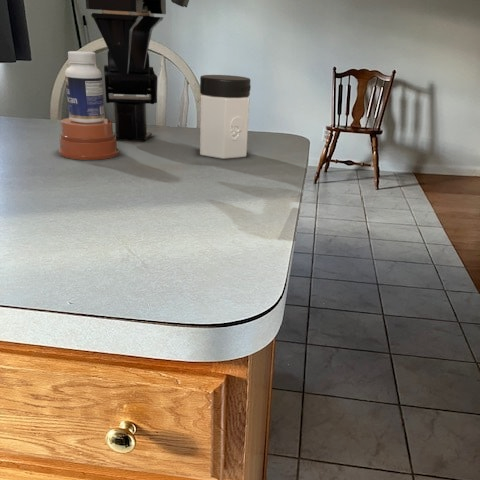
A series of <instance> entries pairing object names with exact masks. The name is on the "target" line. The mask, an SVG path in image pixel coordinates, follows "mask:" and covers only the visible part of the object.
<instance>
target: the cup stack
mask: <svg viewBox="0 0 480 480" xmlns="http://www.w3.org/2000/svg"><path fill="white" fill-rule="evenodd" d="M60 127H61V132H60V136H59V138H58V139H59V140H58V141H59V148H58V155H59V156H60V157H63V158H66V159H71V160H80V161H99V160H108V159H113V158H116V157H118V156H119V154H120V150H119V148H118V145H117V139H116V137H115V134H114V133H115V132H114V131H113V121H112V120H111V119H109V118H104V121H102V122H99V123H78V122H73V121H71V120H70V118H69V117H67V118H63V119H61V120H60Z"/></svg>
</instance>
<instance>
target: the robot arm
mask: <svg viewBox="0 0 480 480" xmlns="http://www.w3.org/2000/svg"><path fill="white" fill-rule="evenodd" d="M170 1H171V3H173V4H175V5H177V6H179V7H181V8H188V5H189V2H190V0H170ZM85 9H86V10H94V11H95V10H97V11H101V13H97V12H90V16H91V18H92V19H93V20H94V23H95V24H96V26H97V28H98V30H99V33H100V34H101V36H102V39H103V40H104V43H105V45H106V47H107V49H108V50H107V64H104V65H103V75H104V87H105V88H104V91H105V103H106V104H110V103H113V111H114V112H113V113H114V114H113V115H114V129H115V131H114V132H113V133H114V134H115V137H116V140H123V141H139V142H146V141H147V140H148V139H149V138H150V137H152V136H153V132H150V131H148V128H147V127H148V126H147V125H148V124H147V104H149V105H154V104H157V103H158V75H157V74H156V73H155V70H154V67H153V66H150V54H149V46H150V42H151V37H152V33H153V30H154V28H156V27H157V25H158V24H160V22H162V21H163V20H164V18H165V17H163V16H155V15H167V1H166V0H85ZM110 94H112V95H110Z"/></svg>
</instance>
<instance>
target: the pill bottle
mask: <svg viewBox="0 0 480 480" xmlns="http://www.w3.org/2000/svg"><path fill="white" fill-rule="evenodd" d="M67 58H68V59H67V61H68V63H70V66H68V67H67V68H66V69H65V71H64V76H65V77H64V79H65V87H66V98H67V110H68V118H70V120H71V121H73V122H78V123H99V122H102V121H104V119H105V104H104V103H105V102H104V89H103V74H102V71H101V70H100V69H99V68H97V67H96V64H97V56H96V52H94V51H84V50H83V51H82V50H81V51H80V50H70V51H67Z"/></svg>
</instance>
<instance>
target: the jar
mask: <svg viewBox="0 0 480 480" xmlns="http://www.w3.org/2000/svg"><path fill="white" fill-rule="evenodd" d="M199 80H200V81H199V93H200V114H199V115H200V116H199V117H200V118H199V122H200V124H199V155H200V156H203V157H210V158H215V159H221V160H228V159H238V158H246V157H247V153H248V134H249V120H250V119H249V116H250V100H251V99H250V95H251V94H250V93H251V79H250V78H249V77H246V76H239V75H227V74H204V75H200V77H199Z"/></svg>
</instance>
